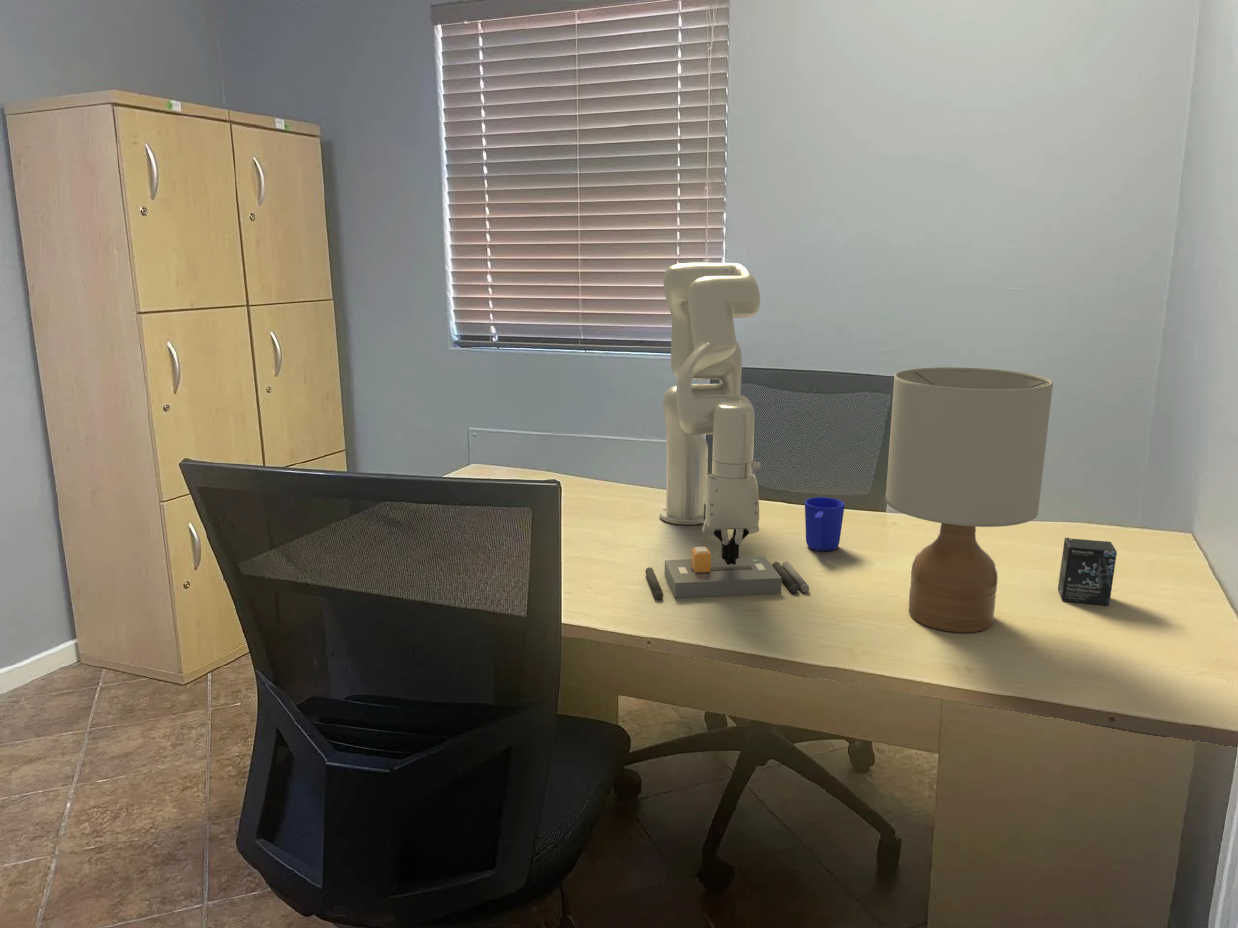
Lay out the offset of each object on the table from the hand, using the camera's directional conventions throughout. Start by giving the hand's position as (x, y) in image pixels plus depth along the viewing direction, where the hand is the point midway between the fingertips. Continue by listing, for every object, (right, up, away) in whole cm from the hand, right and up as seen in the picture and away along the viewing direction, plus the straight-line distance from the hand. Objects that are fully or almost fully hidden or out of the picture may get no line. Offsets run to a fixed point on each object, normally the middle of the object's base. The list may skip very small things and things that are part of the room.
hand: (729, 562), depth 171 cm
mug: (+22, 0, +19) cm, 29 cm away
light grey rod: (+13, -4, +2) cm, 14 cm away
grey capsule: (+11, -4, +2) cm, 12 cm away
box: (+64, -6, -7) cm, 64 cm away
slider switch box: (-2, -4, +1) cm, 5 cm away
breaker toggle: (-6, -1, 0) cm, 6 cm away
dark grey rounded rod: (-14, -5, -1) cm, 15 cm away
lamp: (+36, -8, -15) cm, 40 cm away
